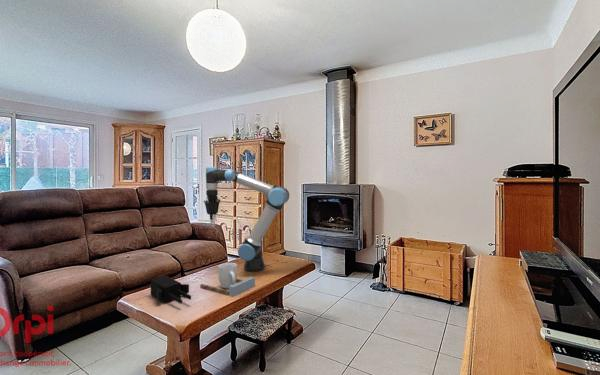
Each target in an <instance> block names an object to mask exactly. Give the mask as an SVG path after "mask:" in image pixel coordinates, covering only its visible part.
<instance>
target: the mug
mask: <svg viewBox="0 0 600 375" xmlns="http://www.w3.org/2000/svg"><path fill="white" fill-rule="evenodd" d="M217 267H218V270H217V271H218V280H219V283H220V286H221V287H222V289H224V290H229V286H231V285H234V284H236V280H237V279H238V263H235V262H225V263H221V264H219V265H218V266H217Z"/></svg>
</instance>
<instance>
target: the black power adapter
mask: <svg viewBox="0 0 600 375" xmlns="http://www.w3.org/2000/svg"><path fill="white" fill-rule="evenodd" d="M189 293H190V284H188V283H182V282H180V281H178V280H176V279H173V278H171V277H170V276H167V275H163V276H159V277H156V278H152V279H150V296H152V297H153V298H155V299H156V300H157V301H158V302H161V303H163V304H164V303H165V304H164V305H166V304H169V303H172V302H174V301H175V302H177V303H178V304H183V299H182V297H184V298H186V299H187V300H192V295H190V294H189Z"/></svg>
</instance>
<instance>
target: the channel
mask: <svg viewBox="0 0 600 375" xmlns="http://www.w3.org/2000/svg"><path fill="white" fill-rule="evenodd" d="M243 280H244V279H240V278H237V280H236V283H238V282H241V281H243ZM236 283H235V284H236ZM199 287H200V289H203V290H206V291H210V292H212V293H213V292H214V293H217V294H221V295H225V296H229V289H225V288H219V287H216V286H212V285H209V284H204V283H201V284H200V286H199Z"/></svg>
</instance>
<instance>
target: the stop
mask: <svg viewBox="0 0 600 375" xmlns="http://www.w3.org/2000/svg"><path fill="white" fill-rule="evenodd" d="M242 280H243V281H241V282H238V283H235V284H234V285H231V286H229V288H228V291H229V295H228V296H230V297H235V296H237V295H239V294H242V293H245V291H247V290H250V289H252V288H254V287H255V286H256V278H255V277H252V276H250V277H247V278H245V279H242Z"/></svg>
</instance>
